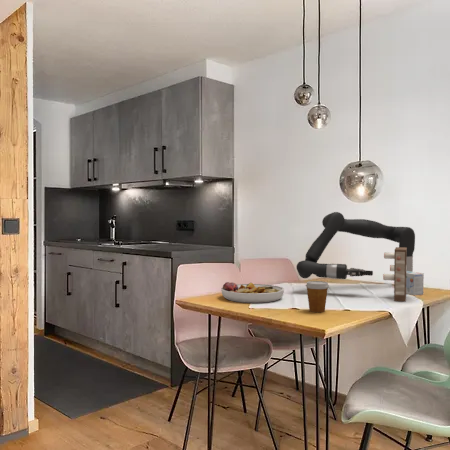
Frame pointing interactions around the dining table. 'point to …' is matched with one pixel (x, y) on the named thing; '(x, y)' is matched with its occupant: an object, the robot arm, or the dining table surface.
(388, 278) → the bottom button
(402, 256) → the wooden peg board
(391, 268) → the middle button
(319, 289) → the disposable coffee cup
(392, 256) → the top button
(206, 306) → the dining table surface
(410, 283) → the light bulb box
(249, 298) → the bowl
